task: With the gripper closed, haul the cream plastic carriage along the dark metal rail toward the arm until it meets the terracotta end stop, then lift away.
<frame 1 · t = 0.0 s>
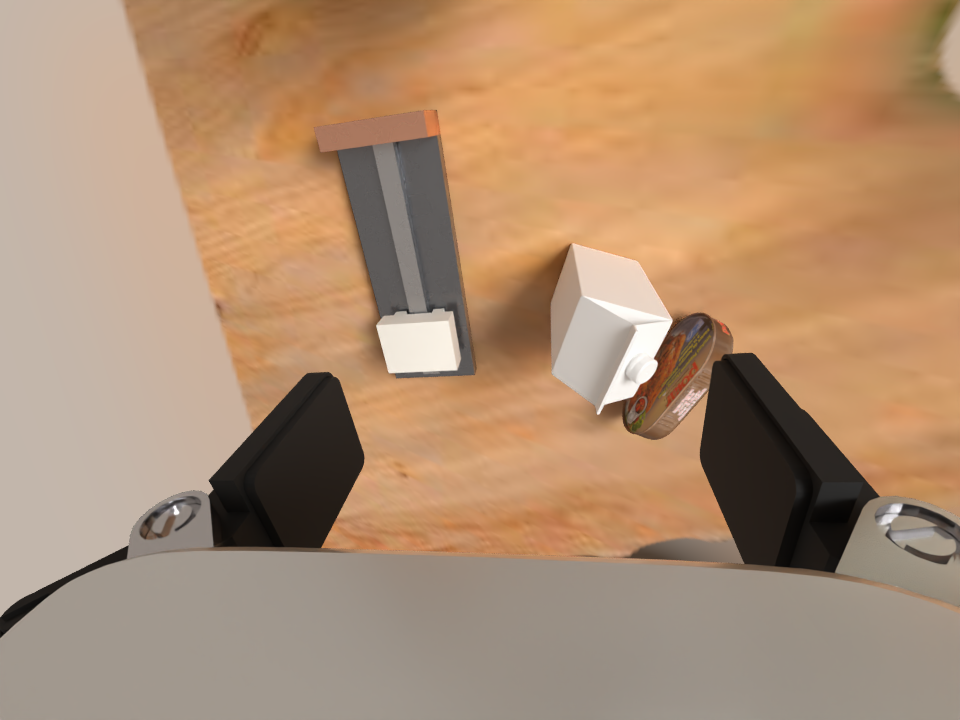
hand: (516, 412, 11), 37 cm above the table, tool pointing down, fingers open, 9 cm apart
milk carton: (592, 282, 47), on the table
rail: (415, 261, 48), on the table
tin: (663, 359, 50), on the table
slider: (421, 340, 49), point 4 cm above the table, slide at 0.0 cm
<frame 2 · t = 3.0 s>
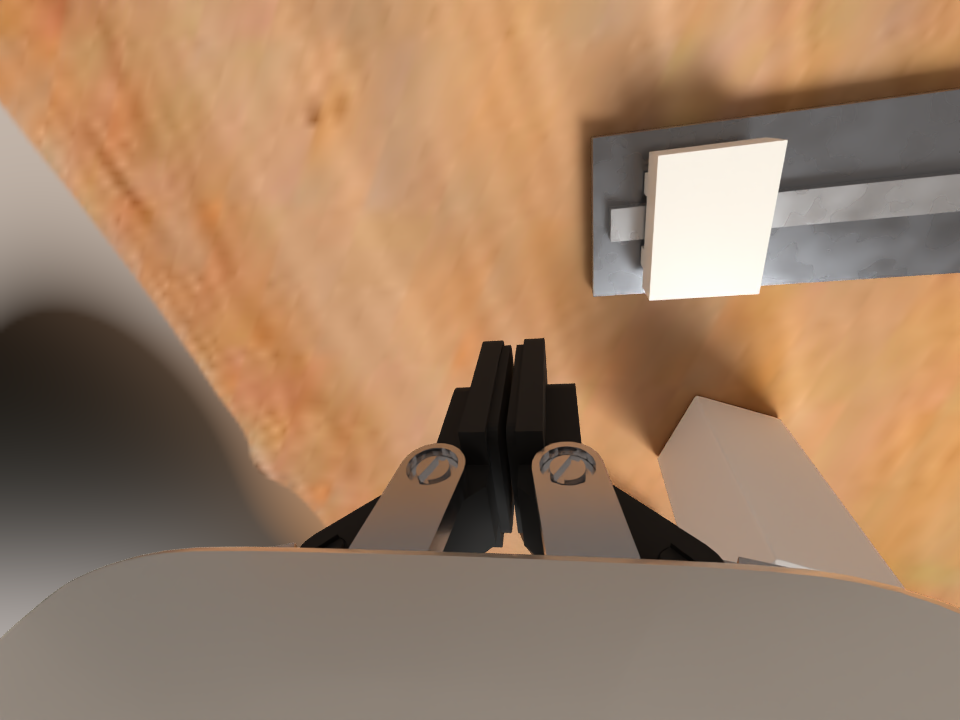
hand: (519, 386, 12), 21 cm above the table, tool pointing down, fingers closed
milk carton: (714, 436, 37), on the table
rail: (825, 196, 27), on the table
slider: (702, 221, 25), point 4 cm above the table, slide at 0.0 cm
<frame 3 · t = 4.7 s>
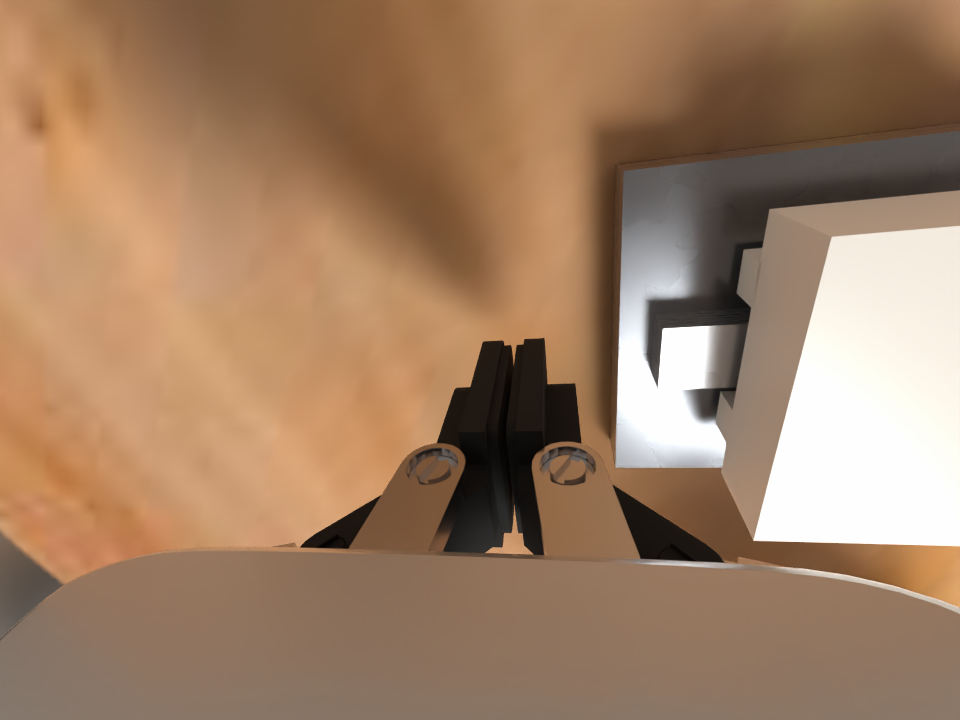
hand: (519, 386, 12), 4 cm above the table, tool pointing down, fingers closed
slider: (888, 372, 11), point 4 cm above the table, slide at 0.0 cm
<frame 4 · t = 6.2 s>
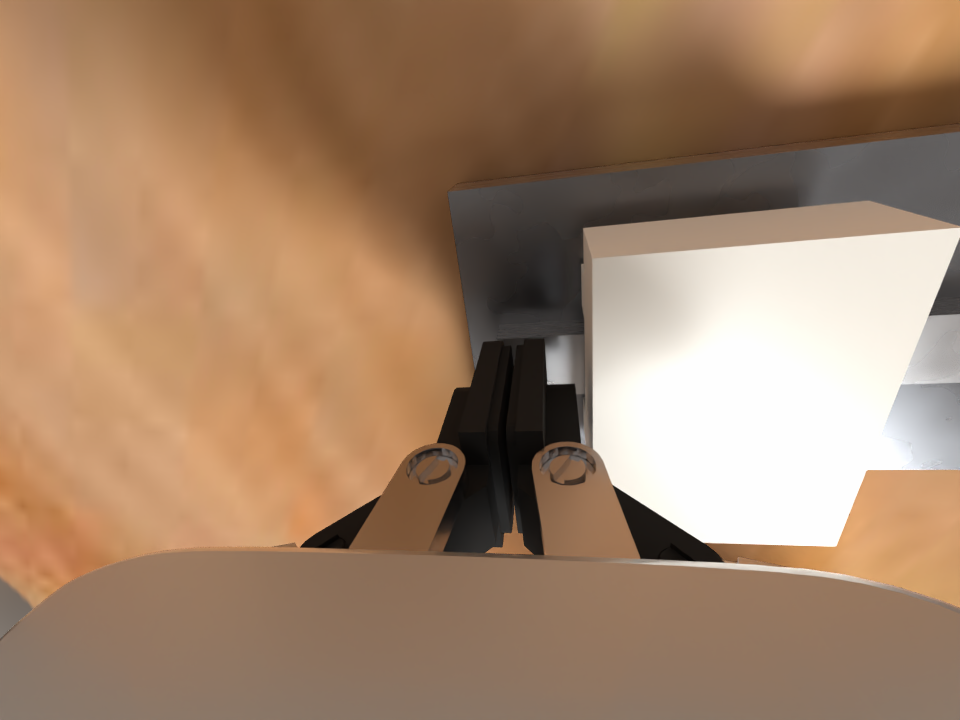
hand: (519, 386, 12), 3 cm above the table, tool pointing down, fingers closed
rail: (942, 307, 13), on the table
slider: (706, 381, 11), point 4 cm above the table, slide at 0.5 cm, touching gripper
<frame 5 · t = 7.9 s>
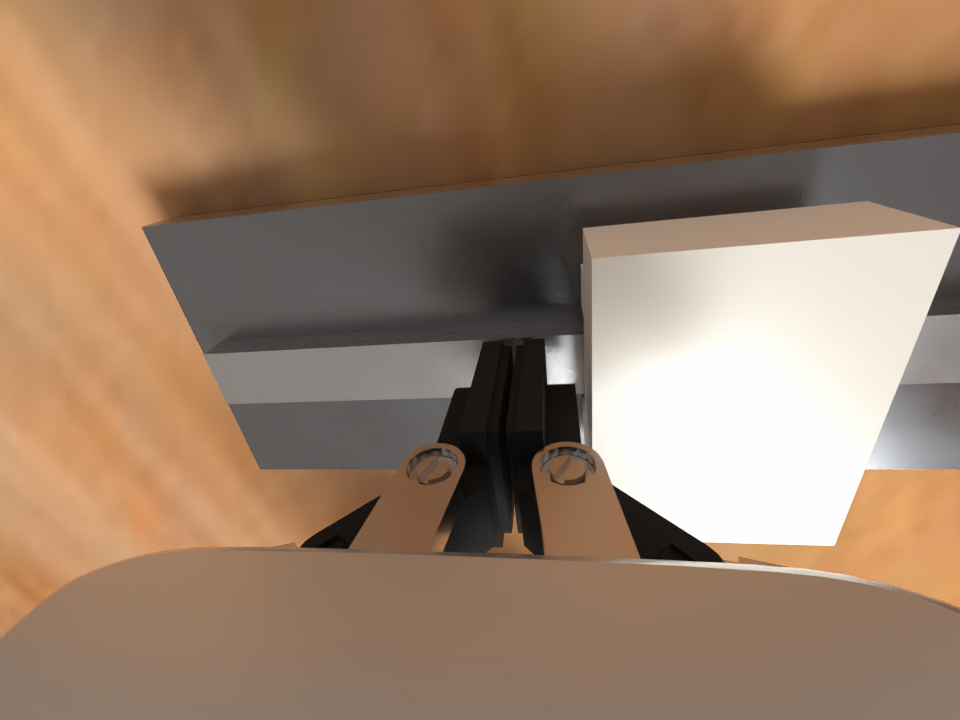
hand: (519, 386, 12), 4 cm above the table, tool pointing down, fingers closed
rail: (602, 326, 15), on the table
slider: (705, 380, 11), point 4 cm above the table, slide at 10.2 cm, touching gripper
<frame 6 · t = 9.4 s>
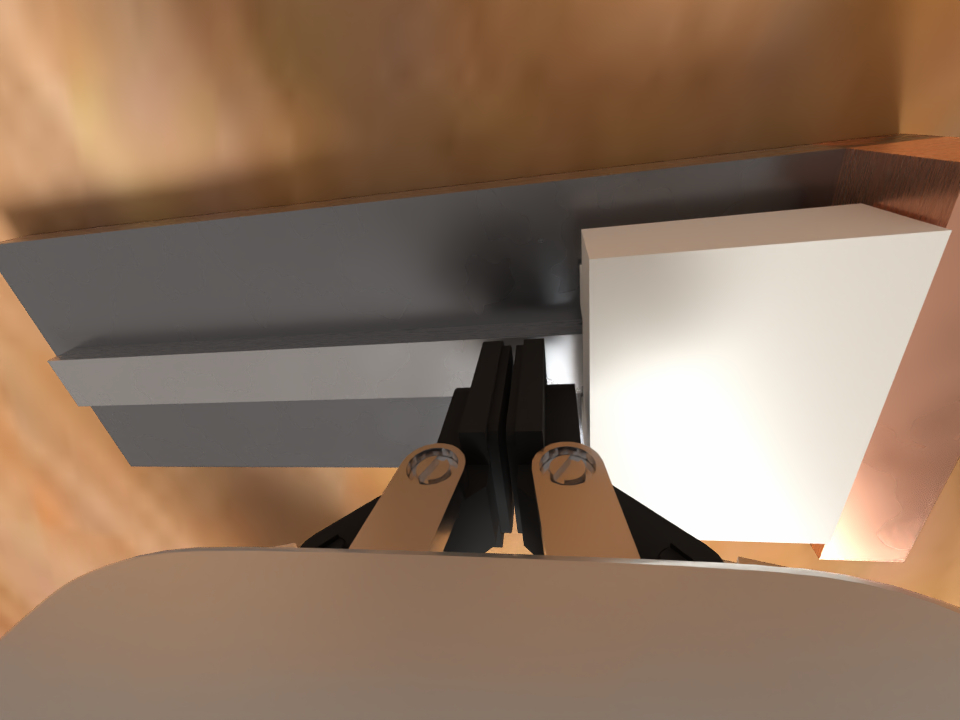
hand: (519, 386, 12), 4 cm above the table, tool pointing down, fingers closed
rail: (414, 336, 16), on the table
slider: (702, 380, 11), point 4 cm above the table, slide at 16.9 cm, touching gripper
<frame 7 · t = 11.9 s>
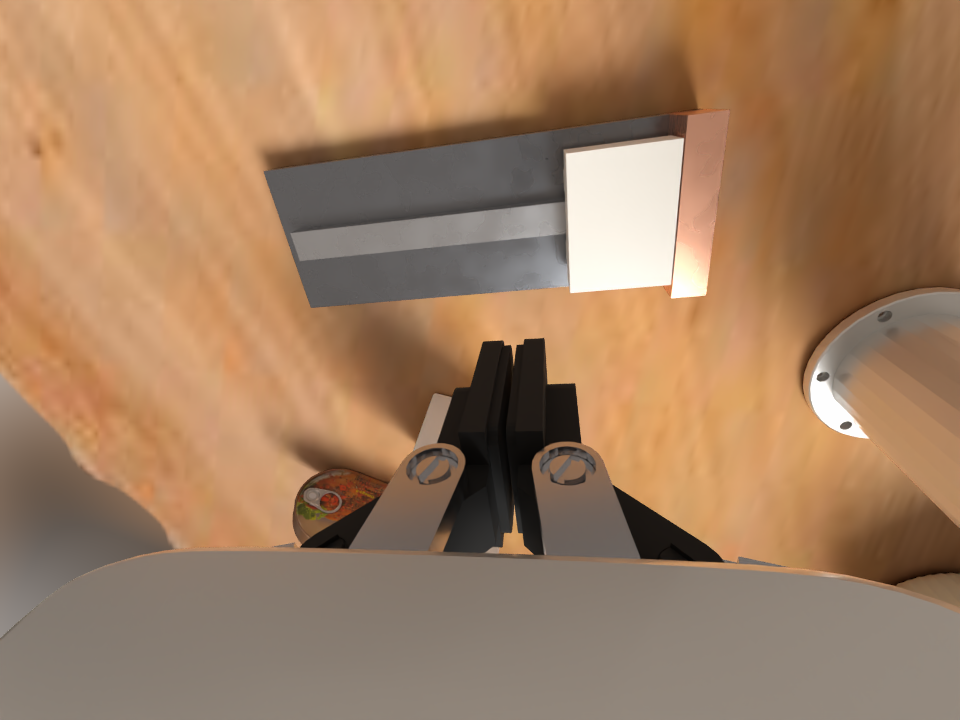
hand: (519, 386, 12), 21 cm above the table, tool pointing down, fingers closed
milk carton: (464, 429, 41), on the table
canister: (927, 601, 46), on the table
rail: (479, 219, 31), on the table
tin: (384, 490, 47), on the table
slider: (616, 216, 26), point 4 cm above the table, slide at 16.8 cm
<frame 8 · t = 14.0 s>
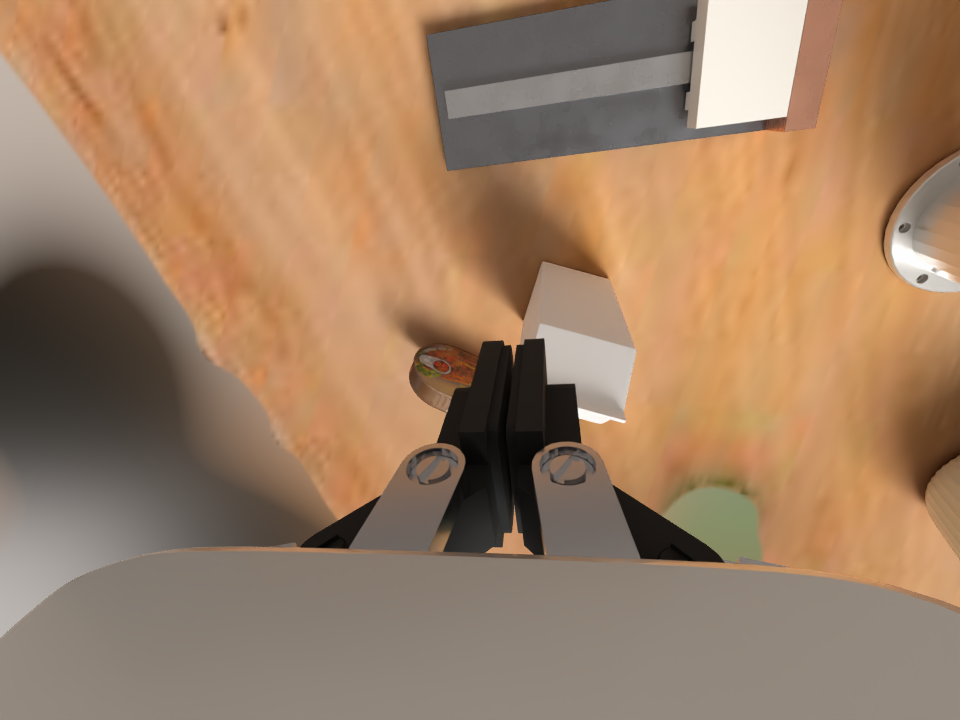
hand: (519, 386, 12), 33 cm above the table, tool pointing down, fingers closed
milk carton: (564, 300, 46), on the table
rail: (606, 81, 36), on the table
tin: (480, 369, 51), on the table
slider: (740, 58, 31), point 4 cm above the table, slide at 16.8 cm
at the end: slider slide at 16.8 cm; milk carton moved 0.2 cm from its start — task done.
